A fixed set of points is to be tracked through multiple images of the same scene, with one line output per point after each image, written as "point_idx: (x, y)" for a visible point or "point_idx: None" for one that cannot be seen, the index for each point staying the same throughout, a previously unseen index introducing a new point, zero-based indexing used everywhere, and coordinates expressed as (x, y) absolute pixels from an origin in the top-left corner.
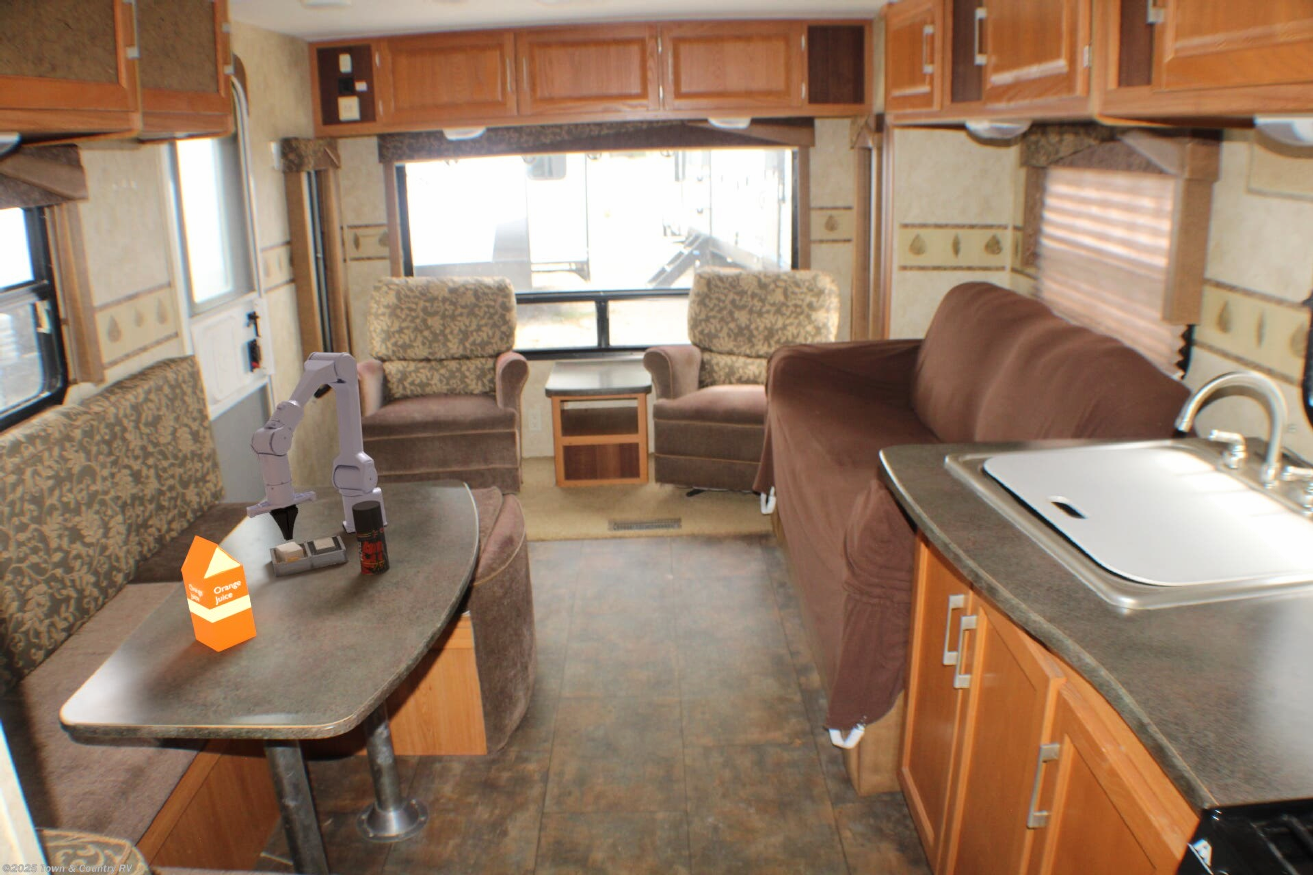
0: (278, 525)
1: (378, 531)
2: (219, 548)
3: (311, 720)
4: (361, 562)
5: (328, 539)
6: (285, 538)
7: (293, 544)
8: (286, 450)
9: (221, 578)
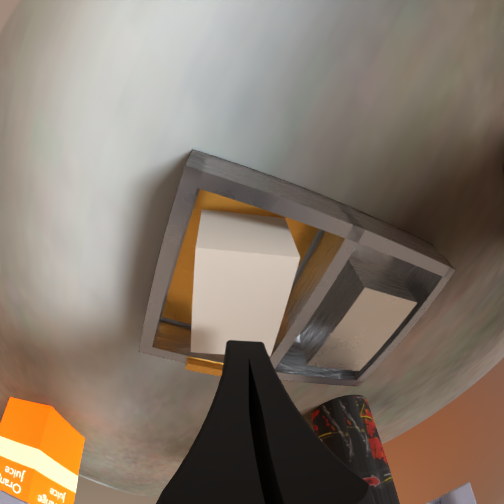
0: (210, 410)
1: None
2: None
3: (122, 491)
4: (317, 435)
5: (397, 314)
6: (222, 370)
7: (273, 295)
8: None
9: None
